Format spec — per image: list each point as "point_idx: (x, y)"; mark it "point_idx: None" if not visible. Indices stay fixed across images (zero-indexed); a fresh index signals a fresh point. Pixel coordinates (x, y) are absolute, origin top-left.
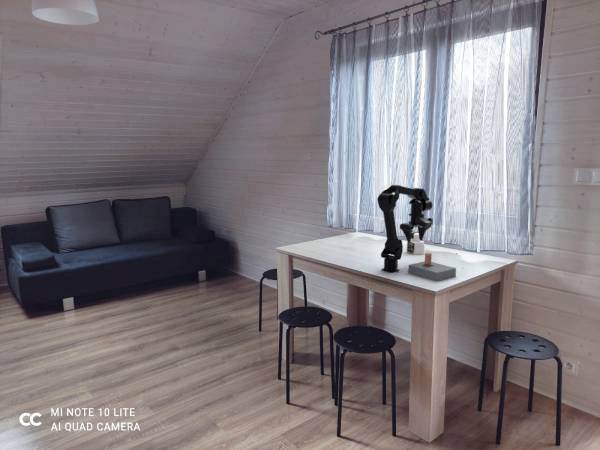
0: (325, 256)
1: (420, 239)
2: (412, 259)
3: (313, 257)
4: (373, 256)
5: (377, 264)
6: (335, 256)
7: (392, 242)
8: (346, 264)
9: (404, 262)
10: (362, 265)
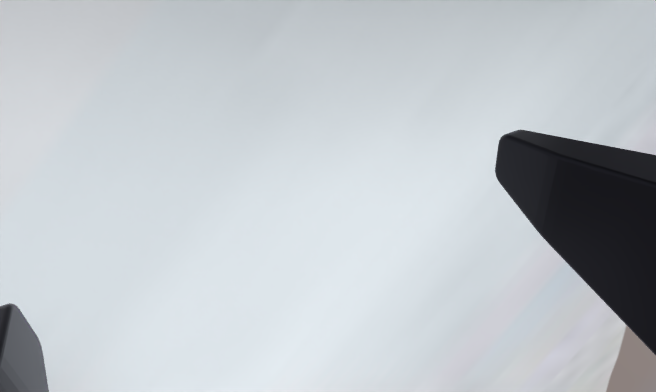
0: (566, 373)
1: (31, 351)
2: (44, 238)
3: (614, 357)
4: (354, 370)
5: None
6: (534, 372)
7: None
8: None
9: (245, 136)
10: None
